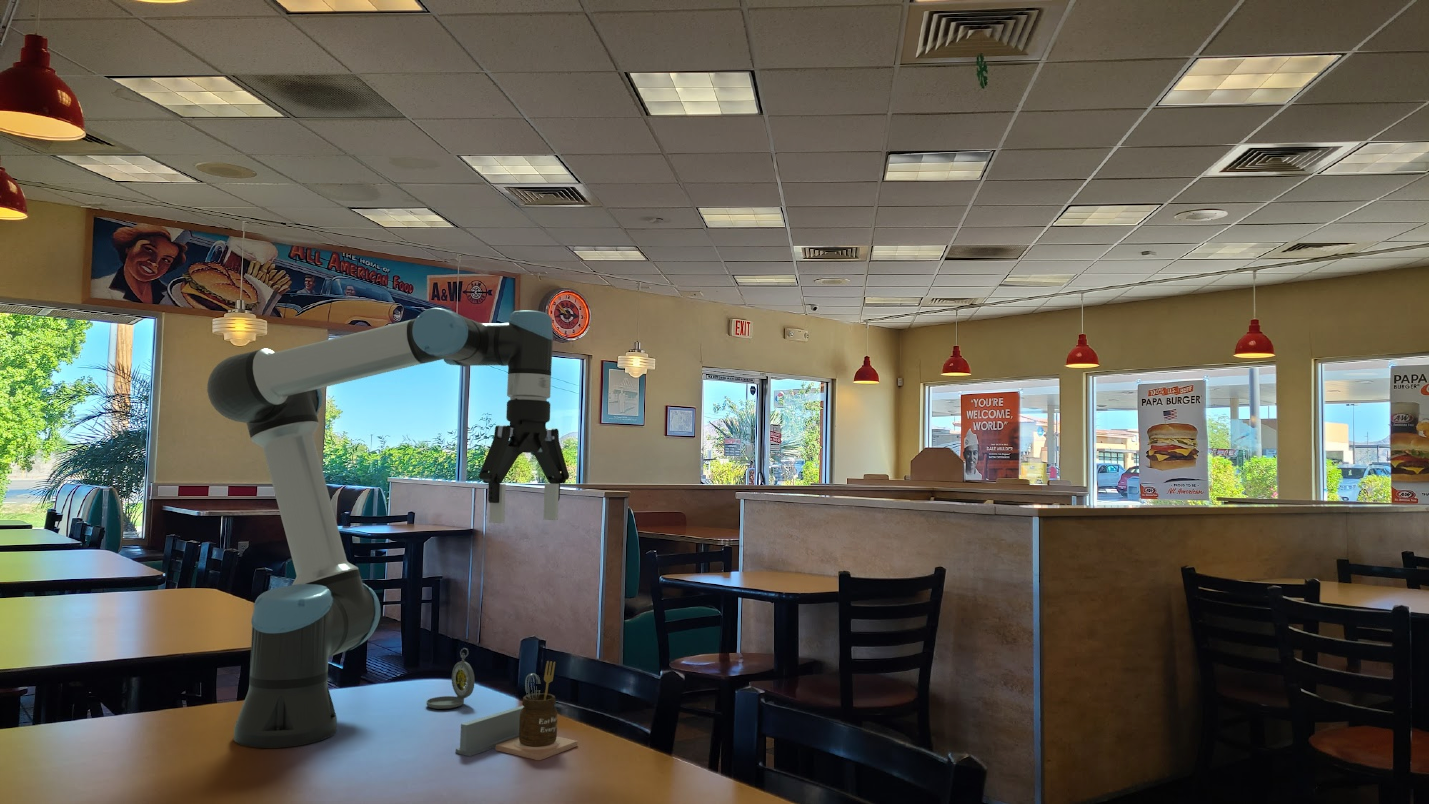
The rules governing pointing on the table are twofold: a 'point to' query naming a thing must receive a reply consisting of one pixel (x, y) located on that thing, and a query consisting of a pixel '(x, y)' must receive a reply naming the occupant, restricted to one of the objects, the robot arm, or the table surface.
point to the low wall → (489, 731)
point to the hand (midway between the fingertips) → (524, 521)
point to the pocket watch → (456, 686)
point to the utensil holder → (539, 715)
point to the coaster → (536, 748)
